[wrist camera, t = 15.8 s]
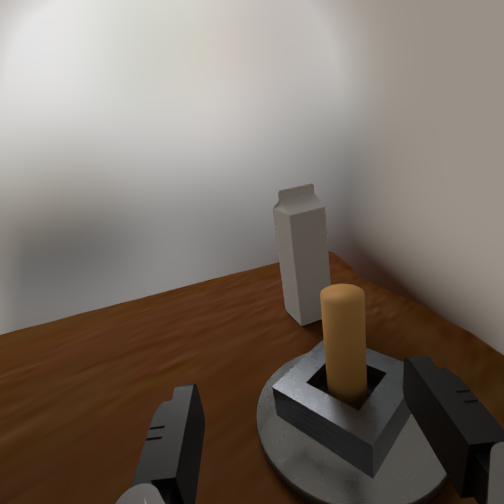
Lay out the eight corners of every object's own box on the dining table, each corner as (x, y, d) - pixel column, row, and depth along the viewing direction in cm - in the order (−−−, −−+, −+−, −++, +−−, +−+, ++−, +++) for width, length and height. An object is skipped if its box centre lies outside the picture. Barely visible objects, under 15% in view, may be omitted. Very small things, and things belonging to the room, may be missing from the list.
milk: (285, 310, 58) (269, 188, 50) (314, 300, 60) (303, 181, 52) (301, 327, 53) (286, 193, 45) (333, 315, 54) (323, 184, 47)
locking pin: (322, 410, 35) (311, 297, 30) (341, 388, 38) (334, 280, 33) (356, 430, 32) (350, 309, 28) (374, 404, 35) (372, 289, 30)
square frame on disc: (222, 431, 36) (212, 393, 34) (321, 339, 49) (319, 308, 47) (406, 586, 22) (408, 537, 21) (479, 402, 35) (484, 361, 33)
